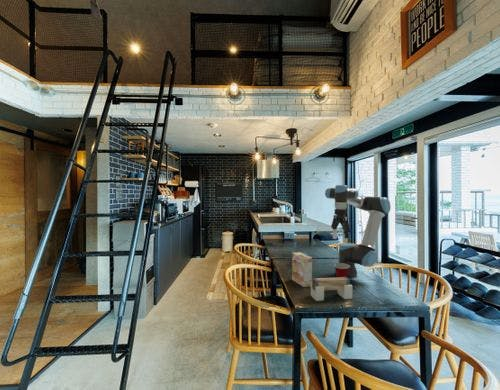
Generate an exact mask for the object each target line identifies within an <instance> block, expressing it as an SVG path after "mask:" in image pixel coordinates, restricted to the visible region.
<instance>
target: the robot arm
mask: <svg viewBox="0 0 500 390" xmlns="http://www.w3.org/2000/svg"><path fill="white" fill-rule="evenodd" d="M359 194H360V193H359V190H358V189H356V188H353V187H350V188H349V187H348V185H347V184H346V185H343V184H337V185H335V187H328V188H326V189H325V192H324V196H325V198H327V199H329V200H334V204H333V205H334V208H335V209H334V214H333V219H332V222H331V225H330V227H331V229H332V239H333V240H336V239H338V226H339V224H340V225H341V229H342V230H343V234H342V244H340V245H339V247H338V248H339V249H338V263H344V264H348V265H350V267H349V271H348V276H347V278H349V279H350V278H356V277H358V272H357V271H358V270H357V268H356V267H357V266H356V264H357V265H360V266H362V267H368V268H371V267H373V266H375V264H376V263H377V260H378V254H377V252H376V248H375V244H376V240H377V238H378V234H379V231H380V226H381V223H382V218H384V217H385V216H386V214H389V212H390V211H391V202H390V199H388V198H387V197H385V196H384V197H383V196H361V195H359ZM348 205H350V206H353V207H354V208H356V209H359V210H362V211H365V212H368V214H369V216H368V219H367V222H366V226H365V229H364V232H363V233H364V234H363V235H362V236H363V237H362V238H361V239H362V240H361V243H359V244H358V246H357V245H356V244H353V243H349V233H351V228H350V224H349V218H348V216H347V214H348V210H347V209H348Z"/></svg>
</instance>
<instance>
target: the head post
mask: <svg viewBox="0 0 500 390" xmlns="http://www.w3.org/2000/svg"><path fill="white" fill-rule="evenodd" d="M310 296H311V297H312V298H313V299H314V301H316V302H321V301H325V291H324V286H315V291H314V290H313V289H312V282H311V286H310Z"/></svg>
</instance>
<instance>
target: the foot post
mask: <svg viewBox="0 0 500 390" xmlns="http://www.w3.org/2000/svg"><path fill="white" fill-rule="evenodd" d="M337 294H338V295H339V296H340V297H341V298H342V299H344V300H350V299H351V300H352V299H353V285H352V284H349V285H344V290H337Z"/></svg>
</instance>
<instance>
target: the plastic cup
mask: <svg viewBox="0 0 500 390" xmlns="http://www.w3.org/2000/svg"><path fill="white" fill-rule="evenodd" d="M333 267H334V269H335V273H336V274H335V275H336V278H337V277H347V276H348V271H349V267H350V265H348V264H344V263H339V262H338V263H335V264H333ZM347 278H348V277H347Z"/></svg>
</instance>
